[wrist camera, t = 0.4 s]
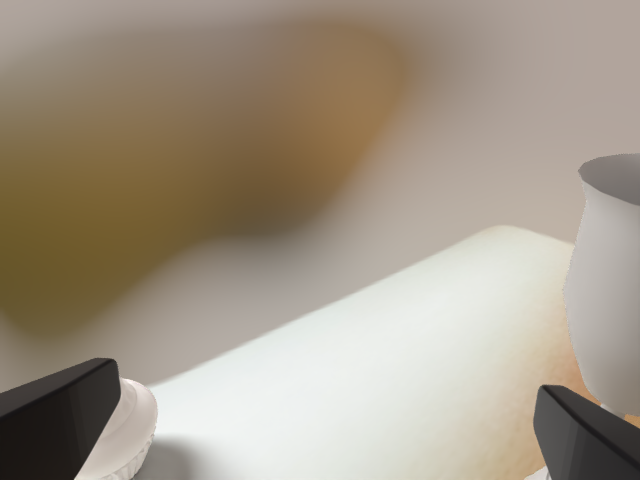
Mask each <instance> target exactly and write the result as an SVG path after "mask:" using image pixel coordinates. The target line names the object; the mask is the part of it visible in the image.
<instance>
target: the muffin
mask: <svg viewBox="0 0 640 480" xmlns="http://www.w3.org/2000/svg"><path fill="white" fill-rule="evenodd" d="M119 378H120V385H121V398H120V401H119V403H118V405H117V407H116V409H115V411H114V412H113V414H112V416H111V418H110V419H109V421H108V423H107V425H106V427H105V428H104V430H103V432H102V434H101V436H100V437H99V439H98V441H97V443H96V444H95V446H94V448H93V450H92V452H91V453H90V455H89V457H88V458H87V460H86V462H85V463H84V465H83V467H82V468H81V470H80V472H79V473H78V475H77V476H76V478H75V479H74V480H130V479H131V478H133V477H134V475H135V474H136V473H138V470H139V469H140V468H141V466H142V464H143V462H144V460H145V457H146V455H147V452H148V449H149V447H150V445H151V442H152V439H153V437H154V432H155V429H156V422H157V416H158V407H157V402H156V399H155V397H154V395H153V394H152V393H151V391H150V390H149V389H147V388H146V387H145V386H143V385H142V384H140V383H138V382H135V381H132V380H128V379H123V378H121V376H120V375H119Z"/></svg>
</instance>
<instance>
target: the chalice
mask: <svg viewBox="0 0 640 480" xmlns="http://www.w3.org/2000/svg"><path fill="white" fill-rule="evenodd" d="M578 172H579V176H580V179H581V183H582V186H583V190H584V193H585V197H586V200H587V202H586V206H585V210H584V213H583V217H582V221H581V224H580V228H579V232H578V235H577V239H576V243H575V246H574V250H573V254H572V257H571V261H570V265H569V269H568V272H567V276H566V280H565V283H564V287H563V295H564V302H565V309H566V316H567V323H568V330H569V335H570V340H571V343H572V346H573V350H574V353H575V356H576V359H577V362H578V365H579V368H580V371H581V374H582V378H583V381H584V384H585V386H586V387H587V389H588V390H589V392H590V393H591V394H592V395H593V396H594V397H595V398H596V399H597V400H598V401H600V402H601V403H602V405H601V406H600V407H602V408H604V409H605V410H607V411H609V412H611V413H613V414H614V415H616V416H618V417H620V418H622V419H623V420H624V417H625V414H628V415H633V416H640V153H639V154H619V155H612V156H606V157H599V158H596V159H593V160H591V161H589V162H586V163H584V164H583V165H582V166H581V167H580V169H579V170H578ZM524 480H551V477H550V474H549V471H548V469H547V466H544V467H543V468H542V469H540V470H537V471H536V472H535V473H534V474H532V475H529V476H527V477H526V478H525V479H524Z"/></svg>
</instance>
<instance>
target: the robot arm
mask: <svg viewBox="0 0 640 480" xmlns="http://www.w3.org/2000/svg"><path fill="white" fill-rule="evenodd" d="M120 398H121V385H120V378H119V371H118V366H117V362H116V361H115V360H114V359H110V358H94V359H91V360H89V361H86V362H83V363H81V364H78V365H75V366H72V367H70V368H67V369H64V370H62V371H59V372H57V373H54V374H51V375H48V376H46V377H43V378H41V379H38V380H35V381H32V382H30V383H27V384H24V385H21V386H19V387H16V388H14V389H11V390H9V391H5V392H3V393H0V480H74V479H75V478H76V476H77V475H78V473H79V472H80V470H81V468H82V467H83V465H84V463H85V462H86V460H87V458H88V457H89V455H90V453H91V452H92V450H93V448H94V446H95V444H96V443H97V441H98V439H99V437H100V436H101V434H102V432H103V430H104V428H105V427H106V425H107V423H108V421H109V419H110V418H111V416H112V414H113V412H114V411H115V409H116V407H117V405H118V403H119V401H120ZM533 425H534V431H535V434H536V437H537V440H538V443H539V446H540V449H541V452H542V454H543V457H544V460H545V463H546V466H547V469H548V471H549V474H550V477H551V480H640V429H639V428H638V427H636V426H634V425H632V424H630V423H629V422H627V421H625V420H623V419H622V418H620V417H618V416H616V415H614V414H613V413H611V412H609V411H607V410H605V409H604V408H602V407H600V406H598V405H597V404H595V403H593V402H591V401H589V400H588V399H586V398H584V397H582V396H580V395H579V394H577V393H575V392H573V391H572V390H570V389H568V388H566V387H564V386H560V385H542V386H540V388H539V390H538V394H537V400H536V406H535V412H534V419H533Z"/></svg>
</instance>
